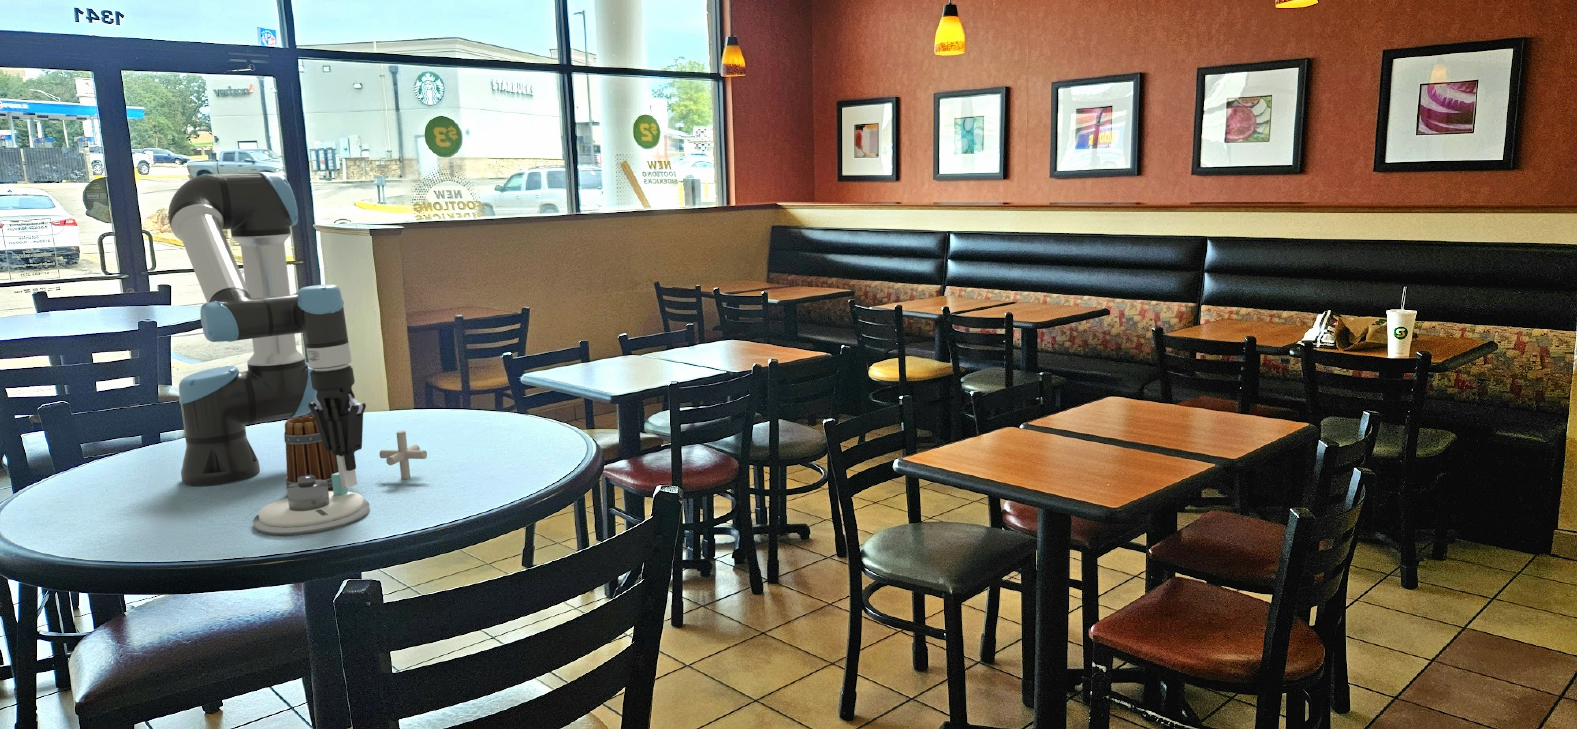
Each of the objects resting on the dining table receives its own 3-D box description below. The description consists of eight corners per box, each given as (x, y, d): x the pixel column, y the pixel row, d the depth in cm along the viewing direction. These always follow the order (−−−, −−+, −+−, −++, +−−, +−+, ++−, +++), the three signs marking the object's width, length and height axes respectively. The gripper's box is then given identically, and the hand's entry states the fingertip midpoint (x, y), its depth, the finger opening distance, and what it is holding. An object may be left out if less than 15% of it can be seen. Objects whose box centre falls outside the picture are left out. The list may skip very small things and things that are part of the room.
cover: (283, 512, 198) (280, 483, 197) (296, 501, 205) (292, 473, 204) (323, 509, 199) (319, 481, 198) (334, 498, 206) (331, 470, 205)
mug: (308, 500, 214) (299, 427, 211) (276, 494, 219) (267, 422, 217) (374, 480, 227) (367, 410, 224) (343, 474, 232) (335, 406, 230)
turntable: (245, 531, 192) (241, 503, 191) (275, 501, 209) (272, 475, 209) (351, 522, 195) (348, 494, 194) (372, 493, 212) (369, 468, 211)
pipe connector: (414, 485, 222) (409, 437, 220) (371, 484, 224) (365, 437, 222) (439, 471, 232) (434, 426, 230) (397, 470, 234) (392, 425, 232)
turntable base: (229, 528, 198) (228, 522, 198) (319, 497, 216) (318, 491, 215) (305, 541, 189) (304, 534, 189) (392, 508, 207) (392, 502, 207)
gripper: (290, 370, 204) (310, 489, 208) (339, 371, 198) (358, 494, 203) (322, 362, 210) (341, 478, 215) (370, 363, 205) (388, 482, 209)
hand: (349, 486), depth 209 cm, fingers closed
